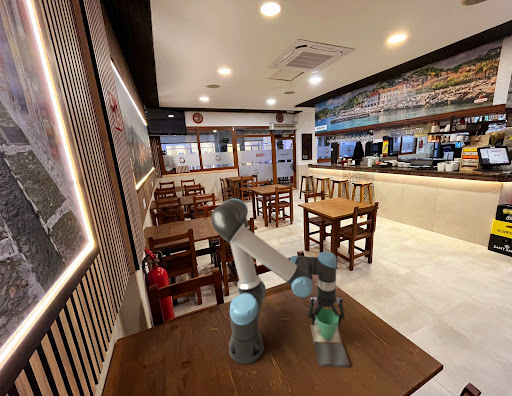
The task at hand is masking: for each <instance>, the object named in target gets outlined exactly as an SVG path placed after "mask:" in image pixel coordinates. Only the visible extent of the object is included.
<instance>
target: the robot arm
mask: <svg viewBox="0 0 512 396" xmlns="http://www.w3.org/2000/svg"><path fill="white" fill-rule="evenodd" d="M248 213H249V209H248V206H247V203H246V202H245V201H243V200H241V199H239V198H231V199H227V200H226V201H224V202H223V203H222V204H220V205H218V206H217V207H215V208H214V210H213V211H212V213H211V218H210V221H211V225H212V227H213V229H214V230H215V232H216V233H217V234H218V235H219V236H220V237H221V238H222V239H223V240H225V241H226V242H227V243H228V244H230V249H231V252H232V256H233V260H234V264H235V268H236V274H237V277H238V281H237V284H236V285H237V289H238V290H237V291H238V296H237V295H236V296H235V297H233V299H232V300H231V301H230V304H229V305H230V306H229V316H230V326H231V336H230V339H229V345H228V350H229V351H228V353H229V356H230V357H231V359H232V360H233V361H234V362H236V363H238V364H240V365H249V364H252V363H256V361H258V360H259V358H261V357H262V355H263V352H264V341H263V338H262V335H261V333H260V331H259V330H260V329H259V316H260V313H261V311H262V306H263V303H264V301H265V299H266V293H267V289H266V284H265V282H263V280H262V279H261V277H260V276H259V275H257V272H256V267H255V262H254V259H255V260H257V261H258V262H259V263H260V264H262V266H264V267H265V268H267V269H268V270H270V271H271V272H273V273H274V274H275V275H277V276H278V277H280V278H281V279H282V280H283V281H284V282H286V283H287V284H289V285H290V287H291V291H292V292H293V294H294V295H295V296H296V297H298V298H302V299H303V298H307V297H309V296H310V295H311V294H312V291H313V287H314V283H313V276H317V294H316V296H310V303H309V308H308V311H307V317H308V319H311V325H314V331H315V333H317V321H316V317H317V315H318V313H319V312H320V310H321V309H322V308H323V307H324V308H325V307H327V308H330V309H331V310H333V311H334V313H335V315H336V317H337V315H338V317H339V322H338V326H337V329H336V331H335V332H336V333H338V332H339V327H340V326H341V322H342V320H345V319H346V315H345V312H344V307H343V302H344V300H343V298H342V296H337V297H336V290H337V289H336V288H337V286H336V285H337V283H336V282H337V269H338V267H337V256H336V254H334V253H333V252H330V251H321V252H319V253H318V256H308V255H307V256H305V255H292V256H291V257H290V259H289V258H287V257H286V256H285V255H283V254H282V253H281V252H279V251H278V250H276V249H275V248H274V247H273V246H271V245H269V244H268V243H267V242H266V241H264V240H263V239H262V238H260V237H259V236H258V235H256V234H255V233H254V232H252V231H251V230H249V228H248V227H249V222H248V218H247V217H248ZM316 302H317V305H316V306H315V304H316ZM336 302H337V304H338V308H339V312H338V310H337V309H336V307H335V305H334V304H335V303H336Z"/></svg>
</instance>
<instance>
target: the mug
mask: <svg viewBox="0 0 512 396" xmlns="http://www.w3.org/2000/svg"><path fill="white" fill-rule="evenodd" d="M316 321H317V325H318V328H319V331H320V333H321V336H322V337H323V338H324V339H326V340H330V339H332V337H333V336H334V334H335V331H336V329H337V326H338V322H339V317H338V315H337V317H336V315H335V313H334V311H333V309H331V308H325V307H323V308H322V309H321V310H320V312H319V313H318V315H317V317H316ZM338 327H339V326H338Z"/></svg>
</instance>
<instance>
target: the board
mask: <svg viewBox="0 0 512 396" xmlns="http://www.w3.org/2000/svg"><path fill="white" fill-rule="evenodd" d="M310 329H311V330H310V331H311V334H312V335H311V336H312V340H313V345H314V350H315V354H316V360H317V366H318V367H327V368H328V367H330V368H351V367H350V365H351V364H350V361H349V359H348V356H347V355H348V354H347V353H346V350H345V347H344V344H343V341H342V339H341V335H340V332H339V331H338V333H336V332H335V334H334V336H333V337H332V339H330V340H326V339H324V338H323V337H322V336H321V333H320V331H319V328H318V325H317V333H315V331H314V325H312V324H310Z"/></svg>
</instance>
